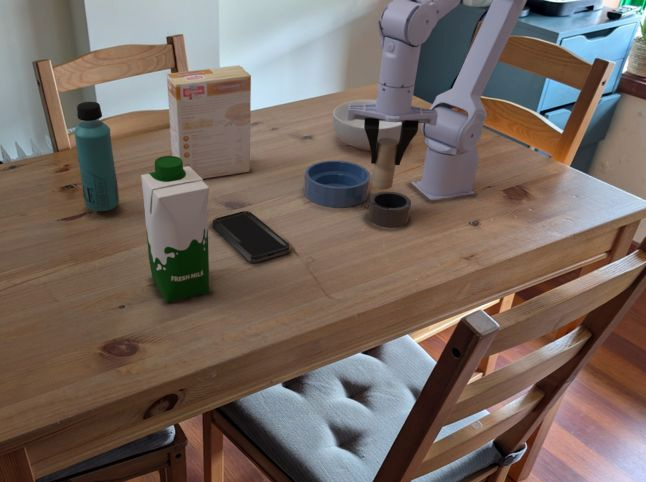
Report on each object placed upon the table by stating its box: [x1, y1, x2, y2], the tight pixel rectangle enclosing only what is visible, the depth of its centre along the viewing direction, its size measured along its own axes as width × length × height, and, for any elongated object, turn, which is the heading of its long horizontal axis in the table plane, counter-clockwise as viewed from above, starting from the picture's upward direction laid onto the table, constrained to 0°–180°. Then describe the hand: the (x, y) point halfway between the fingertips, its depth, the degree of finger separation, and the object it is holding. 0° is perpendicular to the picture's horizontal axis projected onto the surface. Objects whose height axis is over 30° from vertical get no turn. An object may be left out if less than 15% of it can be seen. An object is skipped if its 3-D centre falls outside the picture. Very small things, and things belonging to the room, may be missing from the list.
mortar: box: [367, 191, 412, 229], centre depth 124 cm, size 7×7×4 cm
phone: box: [212, 210, 290, 264], centre depth 120 cm, size 8×1×15 cm
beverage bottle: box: [73, 101, 120, 212], centre depth 122 cm, size 6×7×20 cm
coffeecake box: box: [166, 64, 252, 180], centre depth 136 cm, size 15×7×20 cm, turn 108°
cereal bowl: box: [332, 99, 402, 152], centre depth 150 cm, size 17×17×7 cm
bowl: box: [303, 160, 372, 208], centre depth 131 cm, size 12×12×4 cm
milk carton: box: [140, 155, 210, 304], centre depth 102 cm, size 9×9×20 cm
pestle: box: [371, 138, 399, 190], centre depth 120 cm, size 4×4×8 cm
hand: (385, 162), depth 120 cm, fingers closed on pestle, 3 cm apart
